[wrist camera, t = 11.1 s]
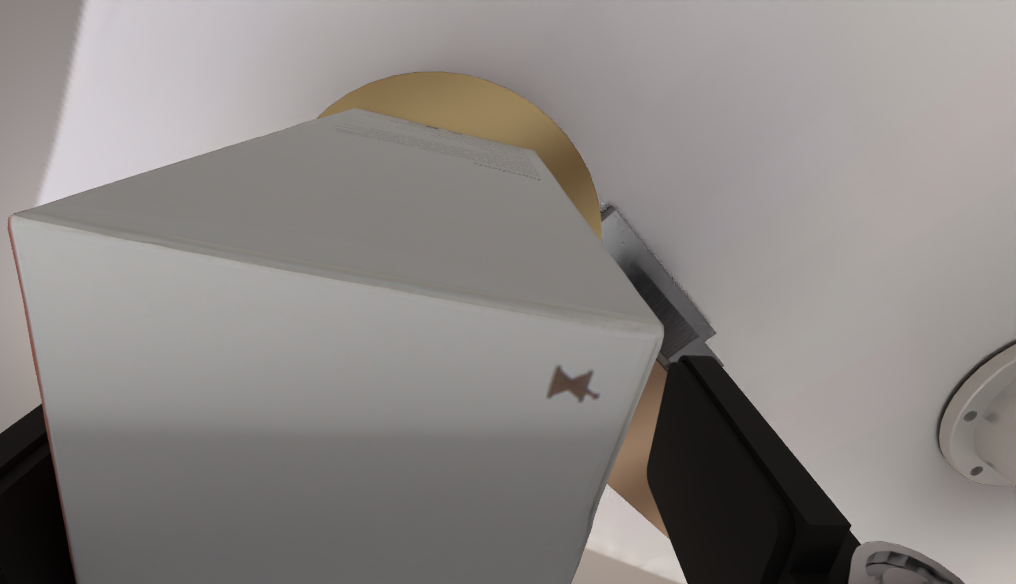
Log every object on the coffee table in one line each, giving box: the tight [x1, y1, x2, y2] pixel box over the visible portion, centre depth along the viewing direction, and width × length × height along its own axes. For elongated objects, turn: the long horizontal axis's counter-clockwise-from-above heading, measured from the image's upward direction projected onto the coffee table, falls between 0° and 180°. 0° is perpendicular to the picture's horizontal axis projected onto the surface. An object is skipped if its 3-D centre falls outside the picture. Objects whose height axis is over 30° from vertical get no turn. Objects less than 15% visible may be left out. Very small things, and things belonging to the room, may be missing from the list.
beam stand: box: [601, 206, 724, 368], centre depth 25 cm, size 10×12×8 cm
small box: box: [8, 108, 664, 584], centre depth 12 cm, size 8×6×13 cm
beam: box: [317, 72, 670, 539], centre depth 21 cm, size 31×12×6 cm, turn 42°
